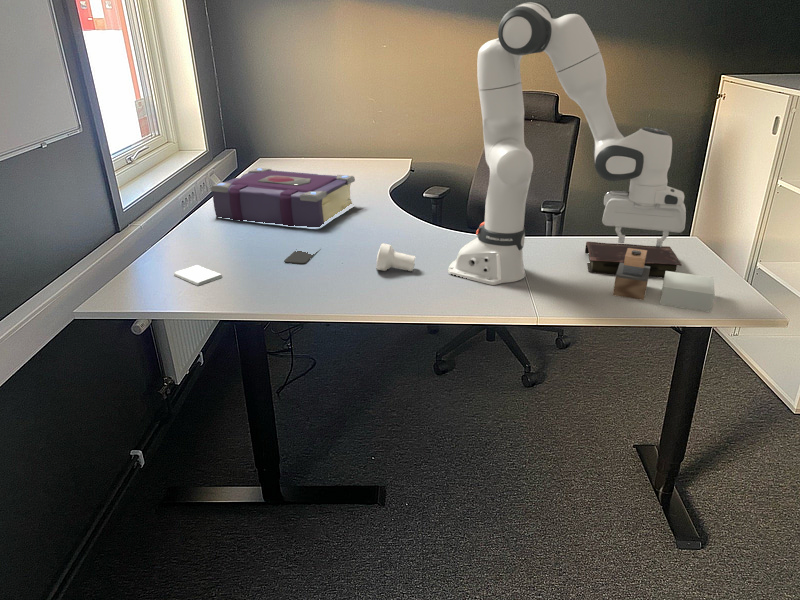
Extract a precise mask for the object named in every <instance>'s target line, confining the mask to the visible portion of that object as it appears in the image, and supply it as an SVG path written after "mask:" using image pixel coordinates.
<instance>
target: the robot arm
mask: <svg viewBox="0 0 800 600" xmlns="http://www.w3.org/2000/svg"><path fill="white" fill-rule="evenodd" d="M553 16H554V15H553V14H552V12H551V10H550V9H549V8H548V7H547V6H546V5H545V4H543V3H542V2H541V3H540V2H536V1H530V2H524V3H523V2H522V3H520V4H518V5H516V6H515V7H513V8H511V9H509V10H508V11H507V12H506V13H504V15H503V17H502V18H501V20H500V22H499V25H498V28H497V37H498V38H494V39H491V40H487V41H486V42H485V43H484V44H482V45H481V46H480V47H479V49H478V52H477V61H476V62H477V63H476V64H477V66H476V70H477V71H476V74H477V87H478V95H479V104H480V112H481V117H482V118H481V119H482V133H483V135H482V136H483V144H484V145H483V147H484V156H485V163H486V165H487V167H488V168H489V179H488V187H487V193H486V198H485V207H484V209H485V210H484V221H483V222H481V223H480V224H479V227H478V228H477V230H476V231H475V232H476V233H475V235H476V237H475V238H474V239H472V240H471V241H469V242H467V243H466V244H464V245H463V246H462V247H461V248H460V250H459V252H458V253H457V256H456V259H455V260H453V261H452V262H451V263H450V264H449V266H448V270H447V271H448V274H449V273H450V274H449V275H451V274H453V275H452V276H454V275H456V276H455V277H458V276H460V277H459V278H462V277H463V279H466V278H467V280H470V281H475V282H479V283H483V284H487V285H491V286H495V285H500V284H504V283H505V284H506V283H514V282H518V281H520V280H523V279H524V278H525V277H526V270H525V266H524V258H523V255H524V253H523V248H524V245H525V240H526V239H525V237H526V233H525V232H526V228H525V227H524V225H525V214H526V204H527V203H526V202H527V198H528V194H529V188H530V184H531V178H532V174H533V171H534V159H533V155H532V152H531V151H530V150H529V149H528V148H527V146H526V143H525V132H524V131H525V129H524V128H525V113H526V112H525V104H524V93H523V85H522V77H521V76H522V75H521V61H522V58H523V56H528V55H533V54H538V53H539V54H540V53H542V52H544V53H545V54H546V55H547V56H548V58H549V59H550V61H551V64H552V66H553V69H554V71H555V74H556V77H557V79H558V82H559V84H560V85H561V87H562V89H563V90H564V92H565V94H566V95H567V97H568V98H569V99H570V100H572V101H574V102H575V103H576V104H577V105H578V106H579V108H580V109H581V110H582V112H583V115H584V116H585V118H586V119H585V120H586V121H587V124H588V126H589V129H590V131H591V135H592V136H593V141H594V146H593V159H594V167H595V171H596V173H597V174H598V176H599V177H600V178H602V179H603V180H605V181H608V182H619V181H626V180H630V181H629V189H628V191H626V190H625V191H622V190H621V191H619V190H611V191H608V192H607V193H605V195H604V197H603V205H604V207H605V208H604V210H603V215H602V220H601V222H602V224H603V225H604V226H606V227H615V229H614V230H615V233H616V235H617V237H618V240H617V244H625V238H626V234H622V231H621V230H622V228H626V229H627V228H629V229H639V230H647V231H659V232H662V236H661V238H657V239H656V243H655V244H656V245H655V246H656V247H662V246H663V242H664V241H665V240H666V239H667V238H668V236H669V233H682V232H683V231H684V230H685V228H686V218H687V217H686V213H687V211H686V209H687V207H686V205H685V203H684V201H685V193H684V191H682V190H680V189H678V188H674V187H671V186H668V183H669V182H668V172H669V169H670V167H671V162H672V154H673V139H672V136H671V135H670V133H669V132H667V131H666V130H664V129H661V128H657V127H651V126H644V127H640V129H638V130H637V131H635V132H634V133H631V134H629V135H627V136H626V135H625V134H623V133H622V131H621V130H620V129H619V128H618V125H617V123H616V120H615V118H614V115H613V112H612V110H611V108H610V104H609V102H608V95H607V81H608V80H607V72H606V66H605V62H604V59H603V54H602V53H601V50H600V48H599V45H598V43H597V41H596V38H595V36H594V34H593V32H592V31H591V28H590V27H589V25H588V23H587V21H586V20H585V18H584V17H583V16H581V15H580V14H577V13H568V14H564V15H562V16H560V17H558V18H554V17H553Z"/></svg>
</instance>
